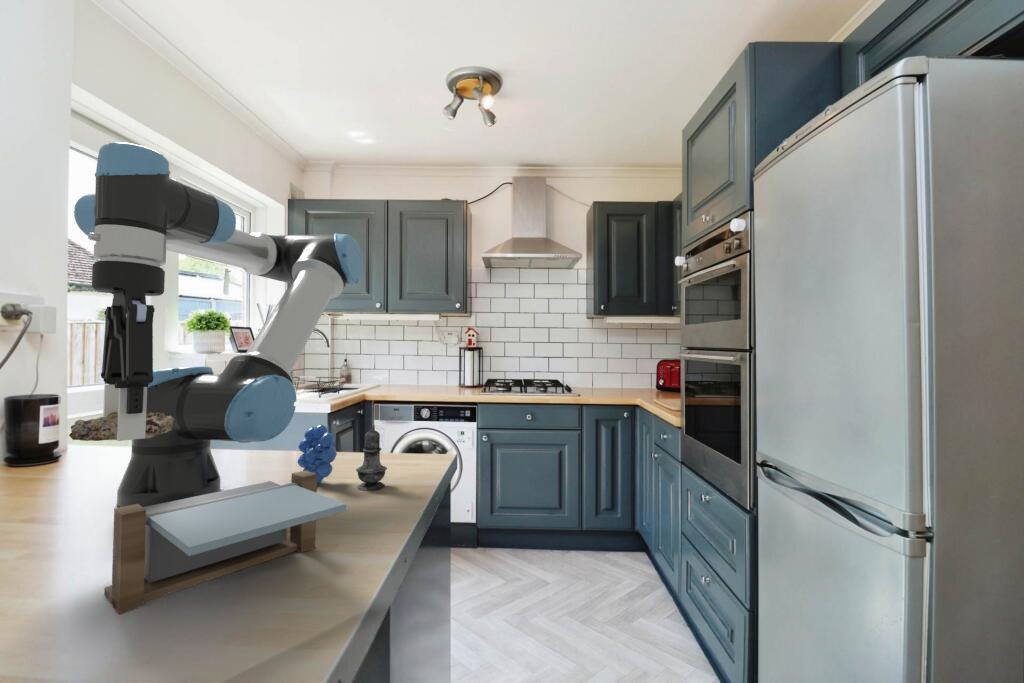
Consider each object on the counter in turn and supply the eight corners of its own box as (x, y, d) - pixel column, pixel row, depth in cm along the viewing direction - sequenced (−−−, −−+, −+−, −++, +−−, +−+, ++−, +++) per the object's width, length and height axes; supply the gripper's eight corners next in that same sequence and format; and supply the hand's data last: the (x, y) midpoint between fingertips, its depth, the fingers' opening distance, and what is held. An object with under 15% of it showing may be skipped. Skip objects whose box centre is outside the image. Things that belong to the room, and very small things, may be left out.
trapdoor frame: (104, 594, 51) (107, 502, 52) (293, 536, 68) (294, 466, 68) (119, 614, 48) (122, 514, 48) (315, 547, 64) (316, 474, 64)
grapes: (352, 484, 94) (353, 424, 95) (321, 492, 89) (322, 428, 89) (319, 474, 101) (321, 418, 102) (289, 481, 96) (290, 422, 96)
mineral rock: (174, 413, 69) (174, 402, 63) (174, 443, 68) (174, 435, 62) (76, 420, 63) (65, 408, 57) (73, 453, 62) (62, 445, 56)
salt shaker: (369, 493, 89) (371, 429, 89) (349, 487, 92) (350, 426, 92) (392, 485, 94) (394, 425, 94) (372, 481, 97) (373, 422, 97)
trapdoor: (130, 570, 54) (132, 503, 54) (272, 530, 67) (274, 475, 67) (187, 630, 43) (189, 545, 43) (344, 568, 55) (346, 502, 56)
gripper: (78, 267, 67) (71, 429, 66) (111, 248, 54) (102, 450, 53) (144, 275, 72) (138, 424, 72) (188, 259, 59) (181, 441, 59)
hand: (123, 435), depth 62 cm, fingers closed on mineral rock, 8 cm apart
